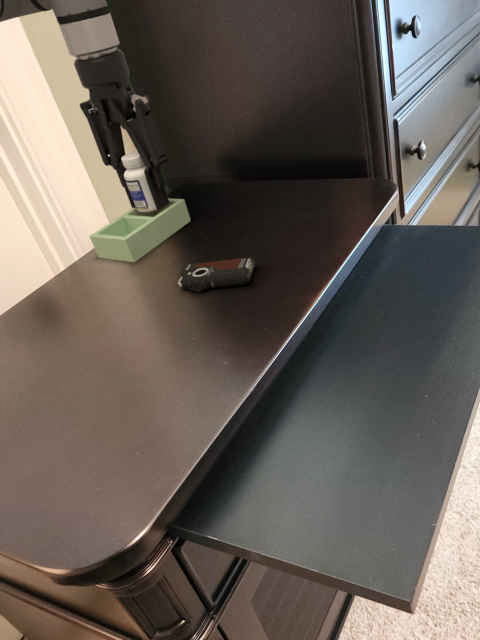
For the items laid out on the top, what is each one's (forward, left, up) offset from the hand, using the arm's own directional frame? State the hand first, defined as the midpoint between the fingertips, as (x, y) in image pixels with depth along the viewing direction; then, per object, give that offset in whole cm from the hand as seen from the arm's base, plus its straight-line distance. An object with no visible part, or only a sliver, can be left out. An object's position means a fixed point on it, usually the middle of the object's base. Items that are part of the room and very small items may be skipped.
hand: (150, 205), depth 93 cm
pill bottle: (0, 0, 0) cm, 0 cm away
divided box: (0, -4, -5) cm, 6 cm away
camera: (+23, -14, -5) cm, 27 cm away
